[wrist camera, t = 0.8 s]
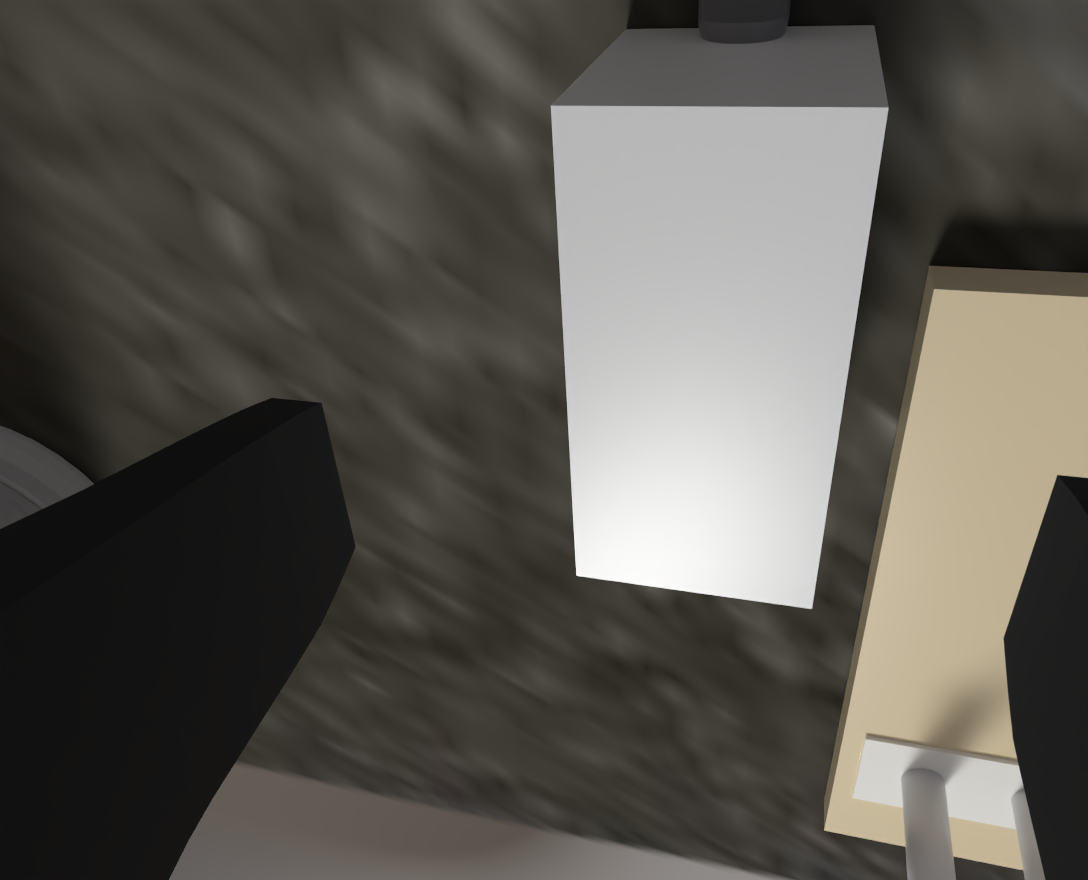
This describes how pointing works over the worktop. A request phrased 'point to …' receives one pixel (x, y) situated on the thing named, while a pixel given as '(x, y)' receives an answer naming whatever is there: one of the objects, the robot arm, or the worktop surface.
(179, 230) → the worktop surface
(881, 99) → the plug housing
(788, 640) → the worktop surface
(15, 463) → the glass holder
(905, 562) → the board
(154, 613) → the robot arm
